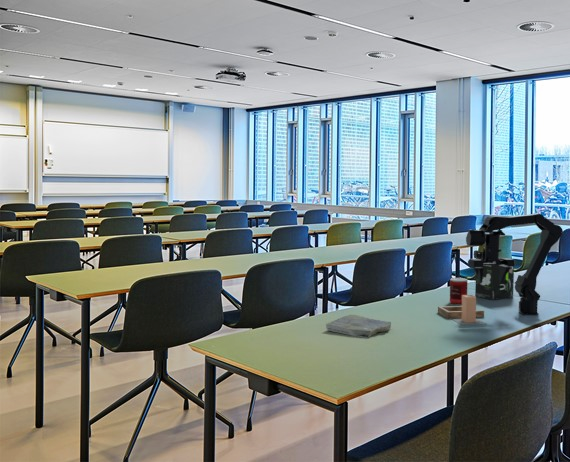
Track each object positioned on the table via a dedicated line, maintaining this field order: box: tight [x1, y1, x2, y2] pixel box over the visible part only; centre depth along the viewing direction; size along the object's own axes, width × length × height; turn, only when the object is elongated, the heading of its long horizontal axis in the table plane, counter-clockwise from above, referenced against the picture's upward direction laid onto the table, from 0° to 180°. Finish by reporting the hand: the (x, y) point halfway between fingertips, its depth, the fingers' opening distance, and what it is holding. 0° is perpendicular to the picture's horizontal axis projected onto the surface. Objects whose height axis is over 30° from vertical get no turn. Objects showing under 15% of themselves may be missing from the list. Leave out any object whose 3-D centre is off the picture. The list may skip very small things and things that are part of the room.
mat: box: [451, 318, 487, 326], centre depth 236 cm, size 10×10×1 cm
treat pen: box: [437, 305, 485, 319], centre depth 253 cm, size 17×22×3 cm
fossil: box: [325, 314, 392, 339], centre depth 226 cm, size 20×5×17 cm
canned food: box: [449, 277, 468, 305], centre depth 273 cm, size 8×8×11 cm
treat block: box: [461, 294, 477, 323], centre depth 236 cm, size 4×4×10 cm
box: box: [474, 256, 515, 301], centre depth 286 cm, size 14×12×19 cm
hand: (490, 283), depth 251 cm, fingers open, 9 cm apart
